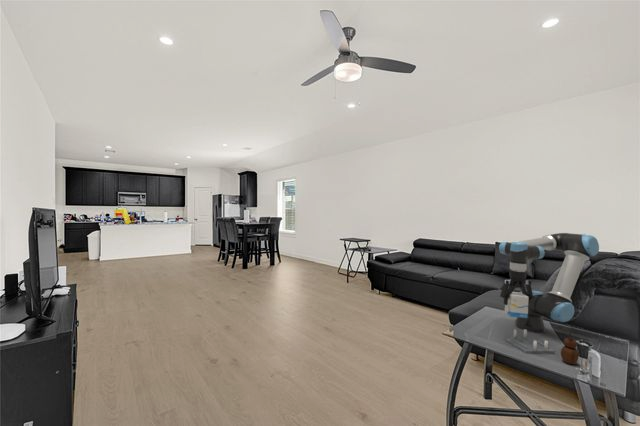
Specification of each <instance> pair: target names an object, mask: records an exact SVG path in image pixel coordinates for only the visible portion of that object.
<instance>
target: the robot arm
mask: <svg viewBox="0 0 640 426" xmlns="http://www.w3.org/2000/svg"><path fill="white" fill-rule="evenodd" d="M545 250H546V251H559V252H563V253H564V255H565V257H564V260H563V262H562V265H561V267H560V270H559V272H558V275H557V276H556V279H555V282H554V284H553V287H552V289H551V291H548V292H546V295H544V292H542V291H540V290H534V289H532V281H531V280H528V279H526V278H527V272H526V271H527V264H528V263H527V261H528V260H540V259H543V258H544V257H545ZM599 250H600V244H599V241H598V239H597V238H596V237H595V236H593V235H592V234H591V235H590V234H586V233H584V234H582V233H581V234H579V233H569V232H559V233H552V234H546V235H543V236H542V237H538V238H531V239H526V240H519V241H512V242H509V241H502V242H501V243H500V244H499V246H498V251H499V252H500V254H502V255H506V256H509V259H510V260H509V279H503V284H502V288H501V291H500V295H499V296H500V298H502V299H503V305H504V311H505V310H506V311H508V312H509V306H510V300H509V297H510V294H511V293H512V292H514V290H515V289H516V288H517V289H518V288H519V290H520V291H519V292H520V293H523V294H525V295H526V296H528V297H529V299H528V318H520V317H516V319H515V321H514V326H515V327H517V328H519V329H521V330H523V331H524V329H526V330H527V332H533V333H541V332H542V333H545V332H544V331H546V326H545V323H544V320H543V317H545V318H548V319H551V320H553V321H556V322H559V323H566V322H568V321H570V320H572V318H573V316H574V314H575V306H574V305H573V301H572V299H571V296H572V294H573V291H574V289H575V287H576V284H577V281H578V279H579V277H580V274H581V271H582V269H583V266H584V264H585V262H587V261H589V260H590V258H591V257H594V256H596V255H598V254H599Z"/></svg>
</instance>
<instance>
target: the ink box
mask: <svg viewBox="0 0 640 426" xmlns="http://www.w3.org/2000/svg"><path fill="white" fill-rule="evenodd" d="M520 292H521V291H518V292H516V291H513V292H512V293H511V294H510V297H509V300H510V306H509V312H508V311H506V310H505V309H504V312H505V313H506V314H507V315H508V316H509V317H511V318H512V317H513V318H517V317H520V318H528V299H529V297H528V296H526V295H525V294H523V293H520Z"/></svg>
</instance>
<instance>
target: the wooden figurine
mask: <svg viewBox="0 0 640 426" xmlns="http://www.w3.org/2000/svg"><path fill="white" fill-rule="evenodd" d="M563 344H564V346H562V348H561V349H560V356H561V360H562V361H563V362H564V363H565V364H568V365H575V364H577V362H578V360H579V357H580V354H579V350H578V349H577V347H578V346H577V345H578V343H577V341H576V340H575V339H573V338H572V332H569V338H567V337H565V338H564V340H563Z"/></svg>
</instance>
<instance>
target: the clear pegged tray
mask: <svg viewBox="0 0 640 426" xmlns="http://www.w3.org/2000/svg"><path fill="white" fill-rule="evenodd" d="M517 331H518V330H517V329H515V328H514V329H513V336H512V338H510V337H509V338H507V337H506V338H505V341H506V342H507V343H509V344H511V345H512V346H514V347H515V348H517V349H518V350H519V351H522V352H523V353H525V354H556V350H554V349H552V348H550V346H549V341H548V340H546V339H545V340H544V343H543V342H541V341H539V340H538V339H535V338H534V337H533V338H528V337H527V335H528V331H527V330H526V329H524V330H523V338H522V337H521V338H518V337H517V335H518V334H517V333H518V332H517Z"/></svg>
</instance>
